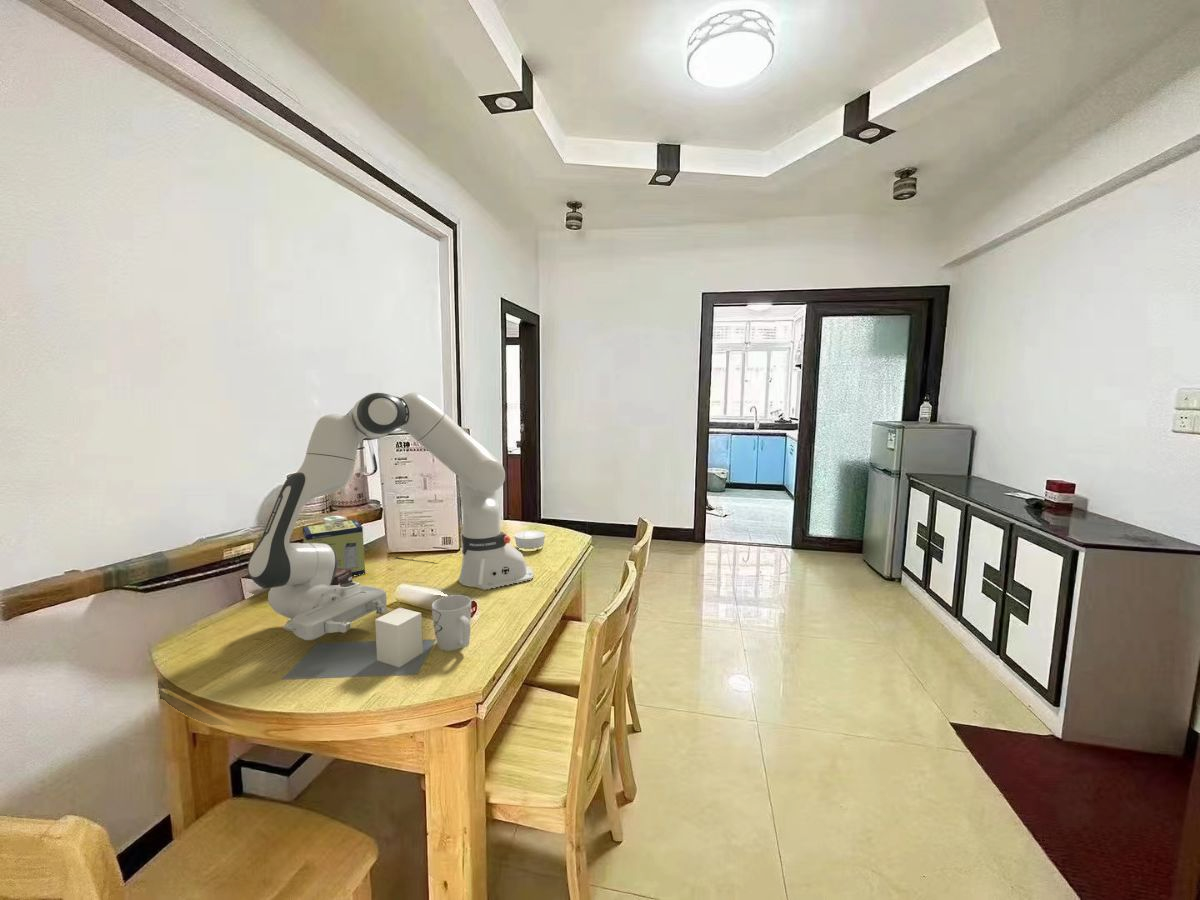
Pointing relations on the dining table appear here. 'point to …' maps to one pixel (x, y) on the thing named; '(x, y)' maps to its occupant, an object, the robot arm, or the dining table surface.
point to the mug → (452, 621)
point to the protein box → (341, 542)
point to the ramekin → (530, 539)
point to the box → (342, 576)
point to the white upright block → (399, 636)
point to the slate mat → (352, 661)
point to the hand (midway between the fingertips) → (366, 618)
